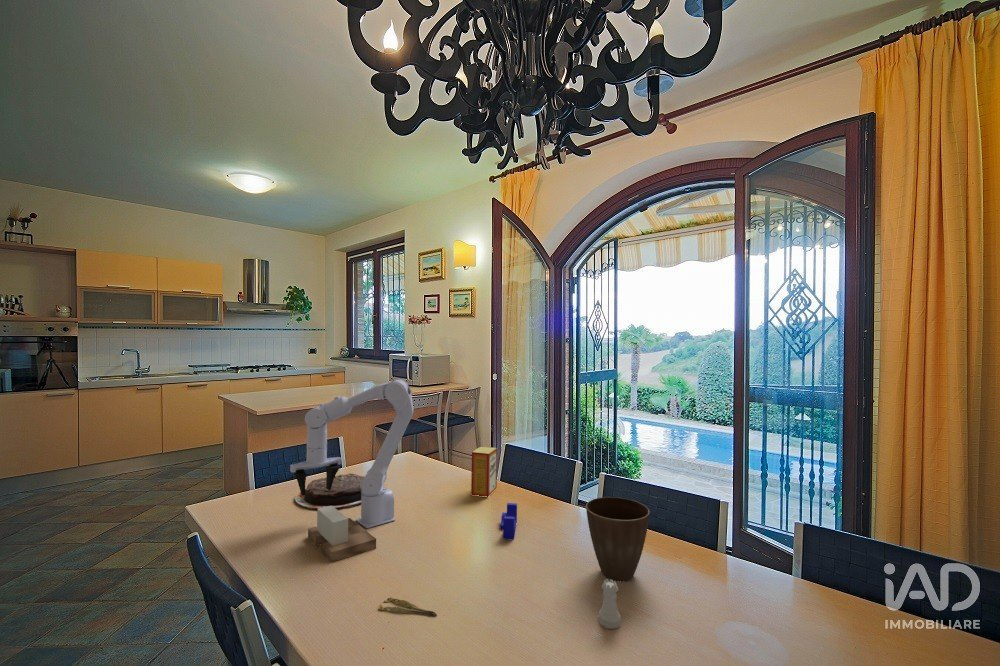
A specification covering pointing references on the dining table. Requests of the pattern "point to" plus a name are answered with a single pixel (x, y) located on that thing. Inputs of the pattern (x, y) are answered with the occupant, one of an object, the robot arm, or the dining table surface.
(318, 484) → the chocolate cake
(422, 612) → the tongs
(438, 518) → the dining table surface
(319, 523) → the grey rubber bar
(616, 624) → the rook chess piece
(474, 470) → the baking soda box
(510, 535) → the cable clip
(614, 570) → the plant pot
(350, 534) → the notched shelf
